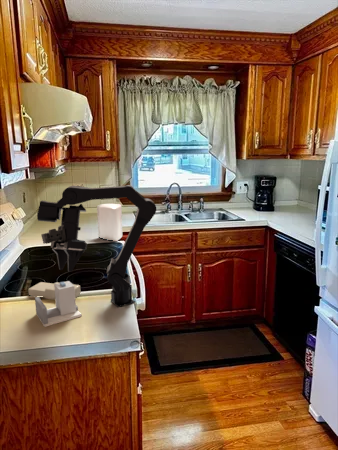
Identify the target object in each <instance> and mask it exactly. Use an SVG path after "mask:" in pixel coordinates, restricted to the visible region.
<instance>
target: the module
mask: <svg viewBox="0 0 338 450" xmlns="http://www.w3.org/2000/svg"><path fill="white" fill-rule="evenodd" d="M53 284H54V283H53ZM73 284H74V283H72V282H71V281H70V280H67V281H60V282H58V283H57V284H54V288H55V300H54V301H55V307H56V308H58V310H59V311H60V314H61V316H62V315H66V314H69V313H73V312H76V305H77V303H76V298H75V287H74V285H75V284H74V285H73Z"/></svg>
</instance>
